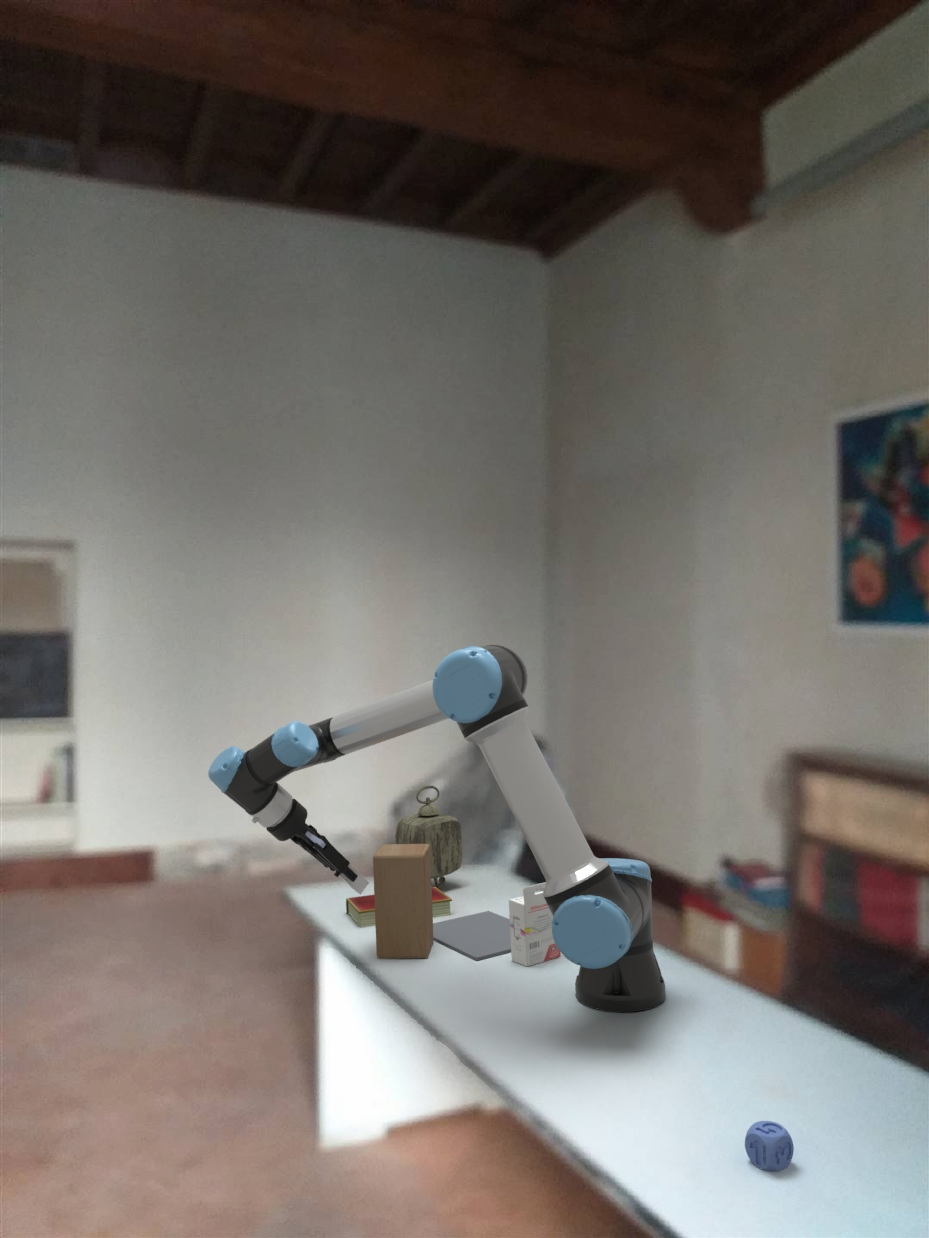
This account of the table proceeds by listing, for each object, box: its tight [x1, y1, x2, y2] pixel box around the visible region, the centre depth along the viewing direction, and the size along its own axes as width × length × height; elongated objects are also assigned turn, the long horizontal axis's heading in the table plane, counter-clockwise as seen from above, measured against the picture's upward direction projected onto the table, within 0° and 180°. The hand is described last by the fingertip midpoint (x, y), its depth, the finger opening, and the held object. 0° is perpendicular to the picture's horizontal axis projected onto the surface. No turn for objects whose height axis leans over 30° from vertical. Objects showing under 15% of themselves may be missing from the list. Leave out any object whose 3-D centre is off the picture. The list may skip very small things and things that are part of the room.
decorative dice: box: [744, 1120, 795, 1172], centre depth 119 cm, size 4×4×4 cm
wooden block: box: [372, 843, 435, 959], centre depth 200 cm, size 10×10×20 cm
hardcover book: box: [345, 886, 453, 928], centre depth 225 cm, size 12×21×4 cm, turn 110°
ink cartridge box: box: [508, 881, 562, 967], centre depth 193 cm, size 9×5×15 cm, turn 126°
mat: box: [433, 910, 511, 962], centre depth 208 cm, size 24×19×1 cm
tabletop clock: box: [394, 785, 463, 890], centre depth 245 cm, size 14×9×25 cm, turn 130°
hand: (363, 887), depth 196 cm, fingers closed
